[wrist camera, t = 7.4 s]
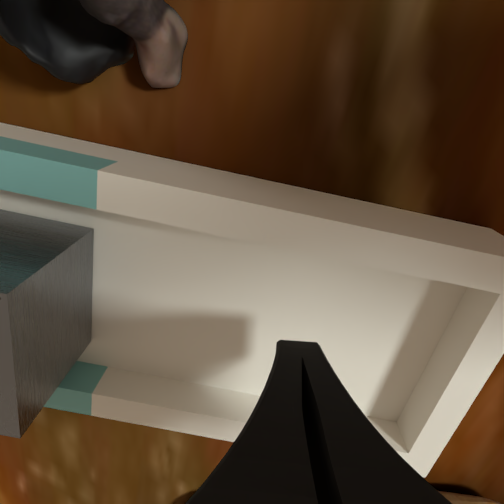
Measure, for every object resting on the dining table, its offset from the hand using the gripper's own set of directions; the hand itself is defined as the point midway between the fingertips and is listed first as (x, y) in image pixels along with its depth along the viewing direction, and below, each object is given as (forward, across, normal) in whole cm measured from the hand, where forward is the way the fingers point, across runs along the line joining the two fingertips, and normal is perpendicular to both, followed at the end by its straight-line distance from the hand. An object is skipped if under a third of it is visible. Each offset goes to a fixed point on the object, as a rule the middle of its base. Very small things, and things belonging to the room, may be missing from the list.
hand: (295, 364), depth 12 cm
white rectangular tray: (+4, +4, +1) cm, 6 cm away
